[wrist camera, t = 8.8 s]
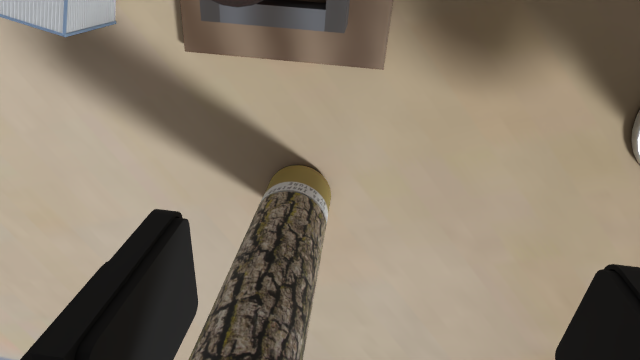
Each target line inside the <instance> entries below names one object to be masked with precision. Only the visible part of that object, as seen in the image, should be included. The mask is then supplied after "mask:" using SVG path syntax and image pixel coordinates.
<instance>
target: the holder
mask: <svg viewBox="0 0 640 360" xmlns="http://www.w3.org/2000/svg"><path fill="white" fill-rule="evenodd" d="M180 5H181V16H182V26H183V36H184V46H185V51H186V52H197V53H208V54H219V55H230V56H241V57H251V58H262V59H273V60H284V61H295V62H306V63H316V64H327V65H338V66H349V67H360V68H371V69H382V70H384V62H385V55H386V48H387V41H388V34H389V26H390V19H391V12H392V5H393V0H263V1H261V2H259V3H257V4H255V5H252V6H245V7H231V6H224V5H221V4H218V3H216V2H214V1H212V0H180Z"/></svg>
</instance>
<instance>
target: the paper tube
mask: <svg viewBox="0 0 640 360" xmlns="http://www.w3.org/2000/svg"><path fill="white" fill-rule="evenodd" d="M330 199H331V192H330V187H329V185H328V182H327V181H326V179H325V178H324V177H323V176H322V175H321V174H320V173H319V172H317V171H316V170H314V169H312V168H309V167H306V166H301V165H293V166H288V167H285V168H283V169H281V170H279V171H278V172H277V173H276V174H275V175H274V176H273V177H272V179H271V181H270V183H269V185H268V187H267V190H266V192H265V194H264V196H263V198H262V200H261V202H260V204H259V207H258V209H257V211H256V213H255V215H254V218H253V220H252V222H251V224H250V226H249V229H248V231H247V233H246V235H245V237H244V240H243V242H242V244H241V246H240V248H239V251H238V253H237V255H236V257H235V259H234V261H233V264H232V266H231V268H230V270H229V272H228V275H227V277H226V279H225V281H224V283H223V286H222V288H221V290H220V292H219V294H218V297H217V299H216V301H215V303H214V305H213V308H212V310H211V312H210V314H209V316H208V319H207V321H206V323H205V325H204V327H203V330H202V332H201V334H200V336H199V338H198V341H197V343H196V345H195V347H194V349H193V351H192V354H191V356H190V358H189V360H303V355H304V350H305V344H306V338H307V333H308V327H309V321H310V315H311V310H312V304H313V298H314V292H315V287H316V281H317V275H318V270H319V264H320V258H321V252H322V247H323V241H324V235H325V230H326V224H327V218H328V211H329V205H330Z"/></svg>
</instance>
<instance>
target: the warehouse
mask: <svg viewBox="0 0 640 360" xmlns="http://www.w3.org/2000/svg"><path fill="white" fill-rule="evenodd" d="M115 8H116V0H0V17H2V18H5V19H9V20H12V21H15V22H18V23H22V24H25V25H28V26H31V27H34V28H38V29H41V30H44V31H47V32H50V33H54V34H57V35H60V36H63V37H68V36H72V35H75V34H79V33H83V32H87V31H90V30H94V29H98V28H102V27H106V26H109V25H113V24H116V21H115Z"/></svg>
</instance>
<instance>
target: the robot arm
mask: <svg viewBox="0 0 640 360" xmlns="http://www.w3.org/2000/svg"><path fill="white" fill-rule="evenodd" d="M631 142H632V148H633V153H634V155H635V157H636V159H637V161H638V163H639V164H640V111H639V113H638V115H637V116H636V119H635V123H634V126H633V129H632V141H631ZM197 307H198V296H197V288H196V279H195V270H194V262H193V253H192V244H191V236H190V227H189V221H188V220H187V219H183V218H182V215H181V213H180V212H176V211H168V210H160V209H155V210H153V211H152V212H151V213H150V214H149V215H148V216H147V218H146V219H145V220H144V221H143V222H142V223H141V225H140V226H139V227H138V228H137V229H136V230H135V231H134V233H133V234H132V235H131V236H130V237H129V238H128V240H127V241H126V242H125V243H124V244H123V245H122V247H121V248H120V249H119V250H118V251H117V252H116V254H115V255H114V256H113V257H112V258H111V259H110V260H109V261H108V262H106V263H105V264H104V265H103V266H102V267H101V268H100V269H99V270H98V271H97V272H96V273H95V274H94V276H93V277H92V278H91V279H90V280H89V281H88V282H87V284H86V285H85V286H84V287H83V288H82V289H81V291H80V292H79V293H78V294H77V295H76V296H75V297H74V299H73V300H72V301H71V302H70V303H69V304H68V305H67V307H66V308H65V309H64V310H63V311H62V312H61V313H60V315H59V316H58V317H57V318H56V319H55V320H54V322H53V323H52V324H51V325H50V326H49V327H48V328H47V330H46V331H45V332H44V333H43V334H42V335H41V336H40V338H39V339H38V340H37V341H36V342H35V343H34V344H33V346H32V347H31V348H30V349H29V350H28V351H27V352H26V354H25V355H24V356H23V357H22V358H21V359H20V360H173V359H174V357H175V355H176V353H177V351H178V349H179V347H180V345H181V343H182V341H183V339H184V337H185V335H186V333H187V331H188V329H189V327H190V325H191V323H192V321H193V319H194V317H195V314H196V311H197ZM555 360H640V268H639V267H632V266H623V265H615V264H611V265H608V266H606V267H605V269H604V270H599V271H598V272H597V273H596V274H595V276H594V278H593V280H592V282H591V284H590V286H589V288H588V290H587V292H586V294H585V295H584V297H583V299H582V301H581V303H580V305H579V307H578V309H577V311H576V313H575V315H574V316H573V318H572V320H571V322H570V324H569V326H568V328H567V330H566V332H565V334H564V336H563V338H562V339H561V341H560V343H559V345H558V347H557V349H556V353H555Z"/></svg>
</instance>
